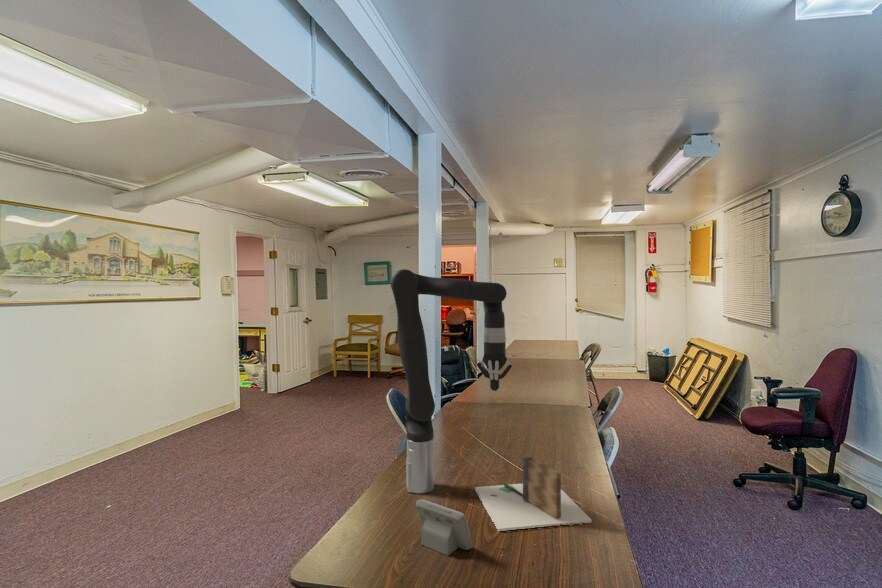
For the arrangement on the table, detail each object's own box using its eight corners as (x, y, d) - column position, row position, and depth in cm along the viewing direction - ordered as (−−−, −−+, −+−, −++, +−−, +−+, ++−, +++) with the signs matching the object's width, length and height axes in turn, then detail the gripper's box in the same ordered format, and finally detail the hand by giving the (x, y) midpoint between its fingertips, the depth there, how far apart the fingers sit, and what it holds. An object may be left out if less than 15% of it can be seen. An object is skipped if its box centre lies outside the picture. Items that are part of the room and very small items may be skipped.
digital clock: (475, 550, 123) (475, 509, 123) (450, 564, 117) (450, 521, 117) (435, 527, 135) (435, 490, 135) (410, 538, 129) (410, 499, 129)
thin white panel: (498, 532, 132) (498, 528, 132) (475, 490, 159) (475, 486, 159) (591, 523, 136) (591, 519, 136) (553, 483, 164) (553, 480, 164)
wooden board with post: (501, 486, 159) (501, 448, 158) (508, 484, 160) (508, 446, 160) (554, 519, 136) (554, 474, 136) (562, 516, 137) (562, 472, 137)
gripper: (473, 341, 162) (473, 391, 162) (511, 342, 157) (511, 394, 157) (479, 338, 169) (479, 386, 169) (515, 340, 164) (515, 389, 164)
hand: (494, 390), depth 163 cm, fingers closed
